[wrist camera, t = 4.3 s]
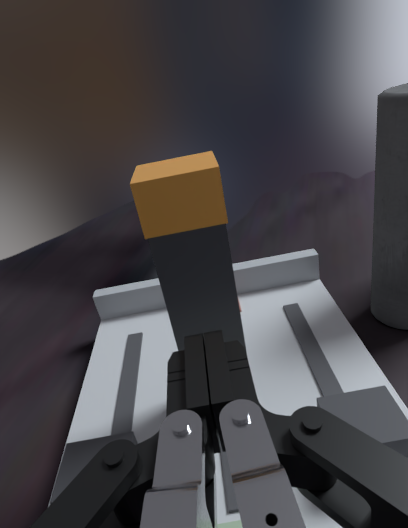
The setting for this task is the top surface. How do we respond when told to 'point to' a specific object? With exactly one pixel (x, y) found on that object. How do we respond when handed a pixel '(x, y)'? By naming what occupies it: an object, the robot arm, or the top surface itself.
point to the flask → (391, 210)
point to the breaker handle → (189, 244)
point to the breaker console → (260, 361)
